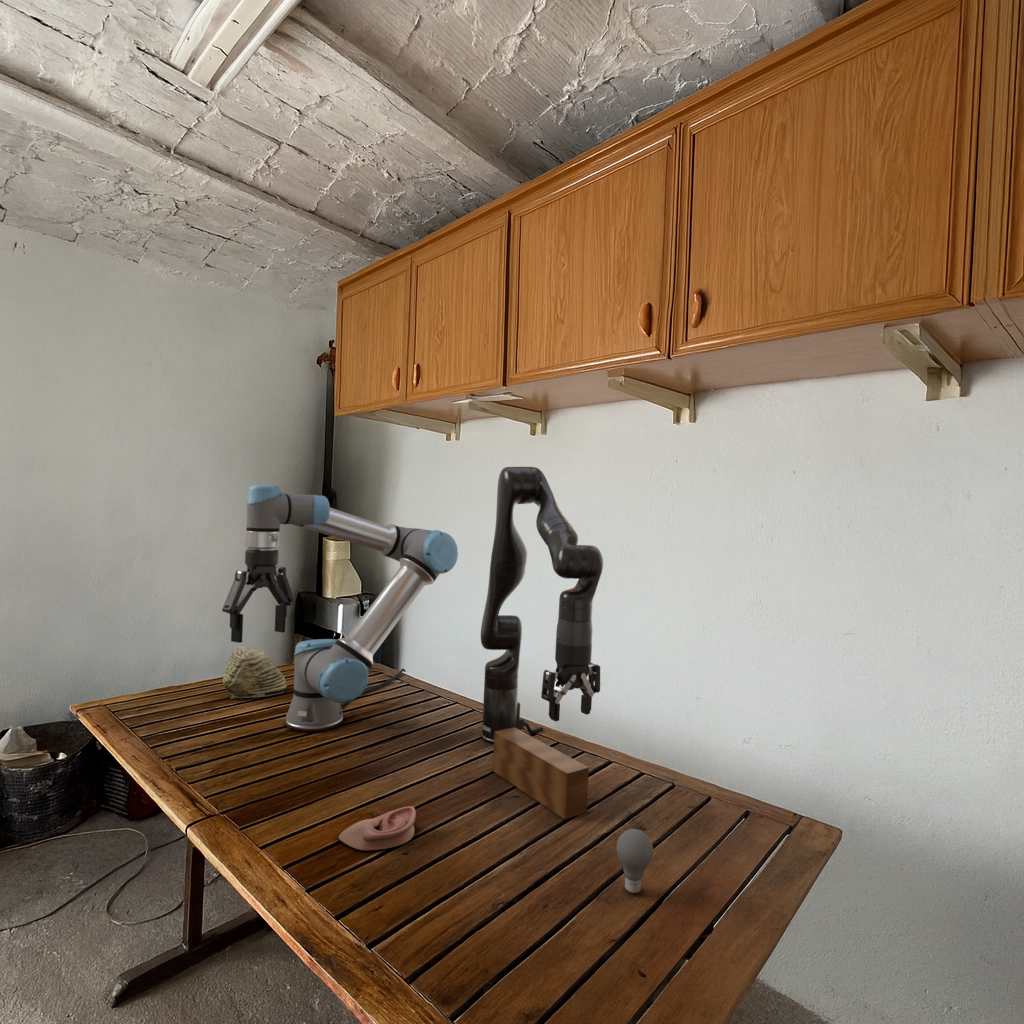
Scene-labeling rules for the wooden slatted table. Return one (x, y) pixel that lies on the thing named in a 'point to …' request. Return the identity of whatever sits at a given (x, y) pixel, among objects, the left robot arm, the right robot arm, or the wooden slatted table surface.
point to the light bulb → (634, 857)
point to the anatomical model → (381, 830)
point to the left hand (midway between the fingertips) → (259, 636)
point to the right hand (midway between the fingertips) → (570, 716)
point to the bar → (541, 772)
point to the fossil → (252, 674)
